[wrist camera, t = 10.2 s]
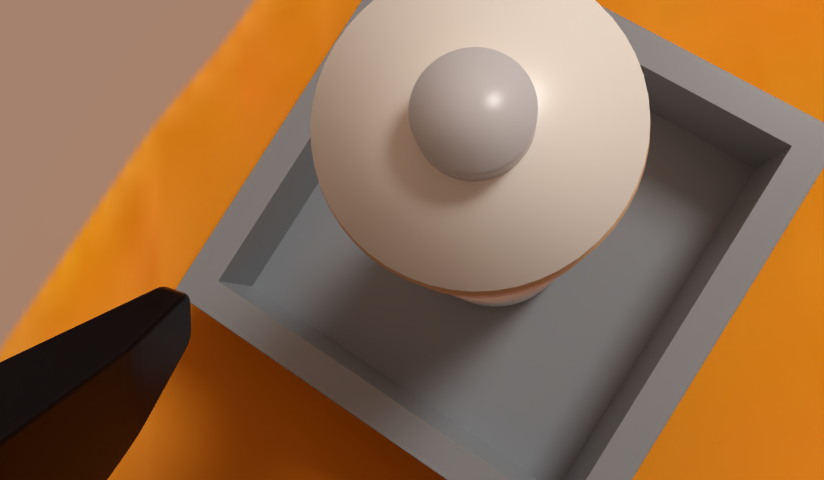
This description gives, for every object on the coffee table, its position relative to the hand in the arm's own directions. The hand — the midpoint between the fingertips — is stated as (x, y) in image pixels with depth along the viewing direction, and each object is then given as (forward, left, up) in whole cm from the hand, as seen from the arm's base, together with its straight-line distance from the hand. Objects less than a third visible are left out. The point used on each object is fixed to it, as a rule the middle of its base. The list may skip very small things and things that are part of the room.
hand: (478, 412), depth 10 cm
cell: (+4, +2, -13) cm, 14 cm away
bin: (+4, +2, -14) cm, 14 cm away
